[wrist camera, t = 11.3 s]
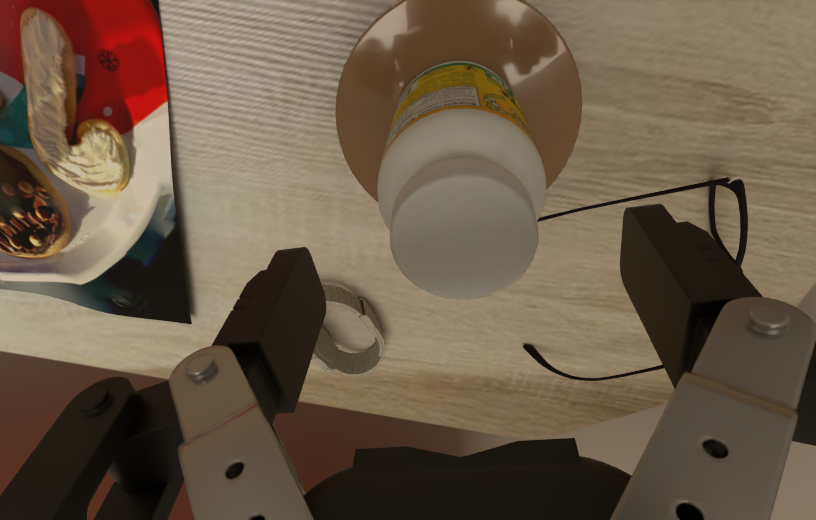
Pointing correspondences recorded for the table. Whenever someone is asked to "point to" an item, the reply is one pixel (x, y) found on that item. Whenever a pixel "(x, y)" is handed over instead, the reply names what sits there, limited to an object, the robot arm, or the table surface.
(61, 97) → the cookie print placemat
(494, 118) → the supplement bottle
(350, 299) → the tan oval ring
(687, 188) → the eyeglasses
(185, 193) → the table surface
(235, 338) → the robot arm
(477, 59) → the jar
